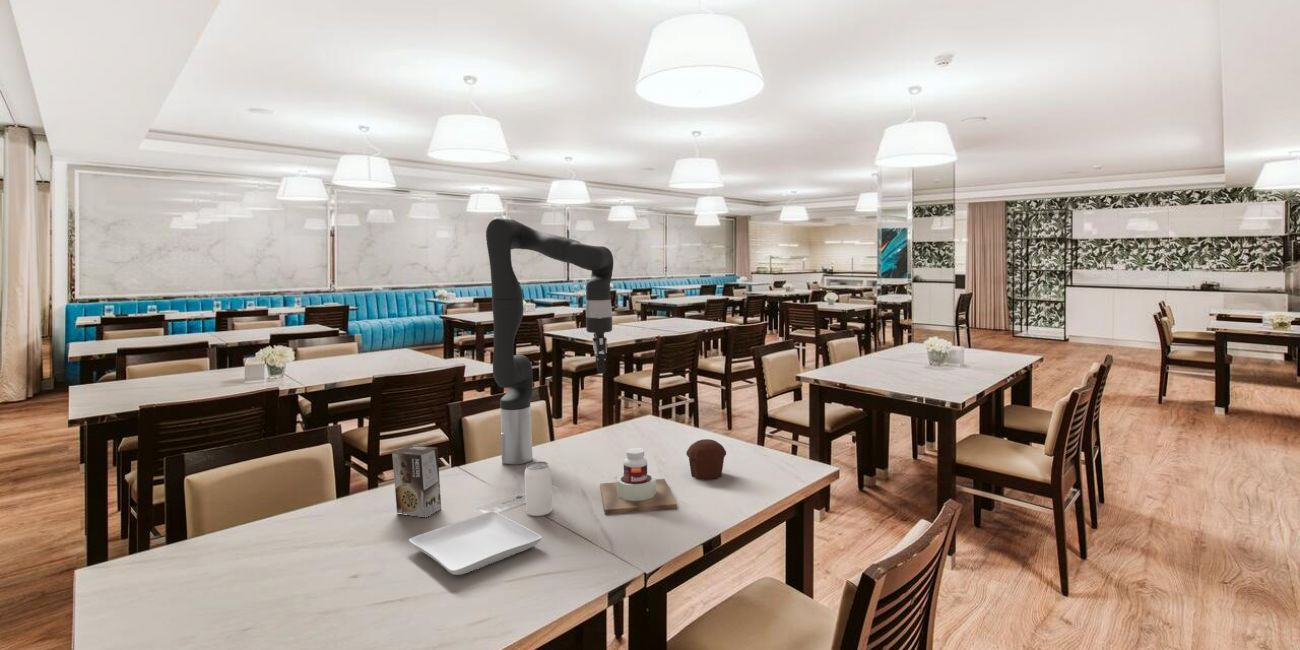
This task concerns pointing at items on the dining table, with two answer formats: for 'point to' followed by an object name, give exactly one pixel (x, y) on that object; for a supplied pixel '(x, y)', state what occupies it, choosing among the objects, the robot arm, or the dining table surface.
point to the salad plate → (475, 542)
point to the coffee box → (417, 480)
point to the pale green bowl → (636, 489)
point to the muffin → (706, 459)
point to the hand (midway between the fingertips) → (600, 370)
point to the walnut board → (620, 505)
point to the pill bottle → (635, 466)
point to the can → (538, 489)
